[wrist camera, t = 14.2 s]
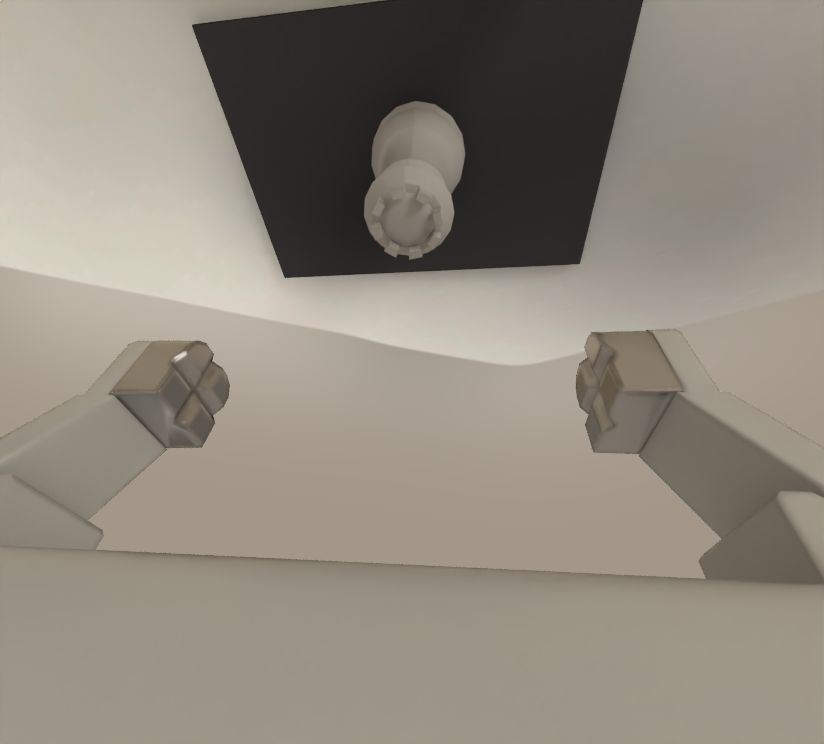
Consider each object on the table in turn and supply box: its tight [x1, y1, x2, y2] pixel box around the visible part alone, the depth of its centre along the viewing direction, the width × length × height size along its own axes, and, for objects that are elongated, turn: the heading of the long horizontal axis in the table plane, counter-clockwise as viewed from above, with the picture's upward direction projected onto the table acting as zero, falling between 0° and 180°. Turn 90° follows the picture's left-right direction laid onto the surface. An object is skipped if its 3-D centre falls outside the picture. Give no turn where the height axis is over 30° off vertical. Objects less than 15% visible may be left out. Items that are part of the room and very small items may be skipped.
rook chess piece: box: [364, 101, 465, 260], centre depth 16 cm, size 4×4×8 cm
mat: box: [192, 0, 643, 278], centre depth 19 cm, size 18×12×1 cm, turn 95°
